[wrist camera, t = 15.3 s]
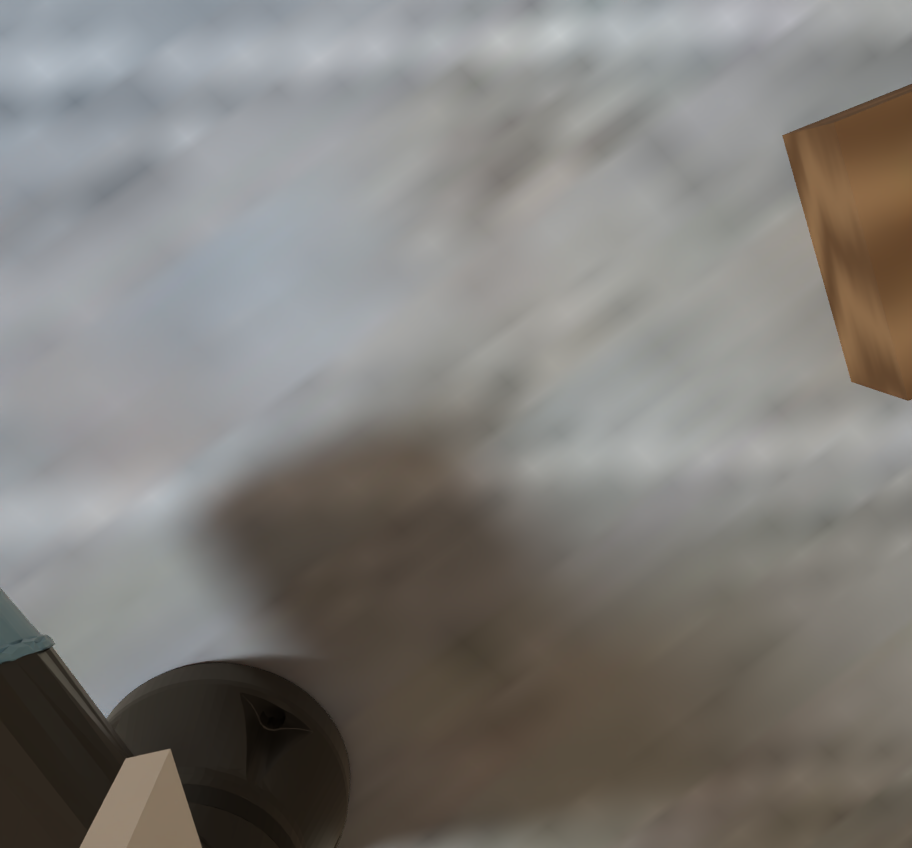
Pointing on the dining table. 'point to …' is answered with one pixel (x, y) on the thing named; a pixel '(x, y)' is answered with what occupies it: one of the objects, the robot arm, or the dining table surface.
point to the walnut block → (863, 231)
